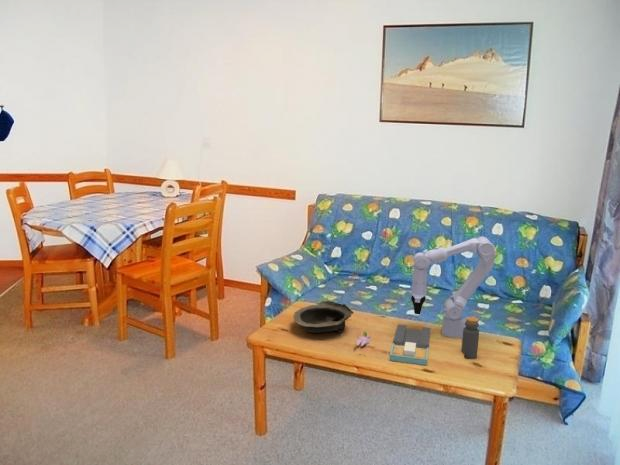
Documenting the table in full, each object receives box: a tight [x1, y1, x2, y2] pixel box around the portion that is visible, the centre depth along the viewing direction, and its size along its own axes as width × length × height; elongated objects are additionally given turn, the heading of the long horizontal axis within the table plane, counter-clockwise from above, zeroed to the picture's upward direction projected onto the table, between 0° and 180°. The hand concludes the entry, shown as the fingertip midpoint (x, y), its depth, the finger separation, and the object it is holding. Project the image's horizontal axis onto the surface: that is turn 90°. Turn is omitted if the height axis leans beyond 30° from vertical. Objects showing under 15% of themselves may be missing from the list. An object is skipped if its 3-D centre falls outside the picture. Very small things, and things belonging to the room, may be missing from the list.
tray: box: [389, 343, 430, 367], centre depth 207 cm, size 14×12×2 cm
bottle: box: [461, 316, 480, 360], centre depth 208 cm, size 6×6×15 cm
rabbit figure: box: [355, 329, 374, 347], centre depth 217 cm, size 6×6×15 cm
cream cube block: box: [404, 342, 416, 352], centre depth 208 cm, size 4×4×4 cm
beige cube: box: [403, 346, 417, 357], centre depth 205 cm, size 4×4×4 cm
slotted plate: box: [392, 323, 432, 350], centre depth 221 cm, size 14×18×3 cm
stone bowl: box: [292, 300, 354, 334], centre depth 231 cm, size 25×25×9 cm
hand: (417, 313), depth 226 cm, fingers closed
